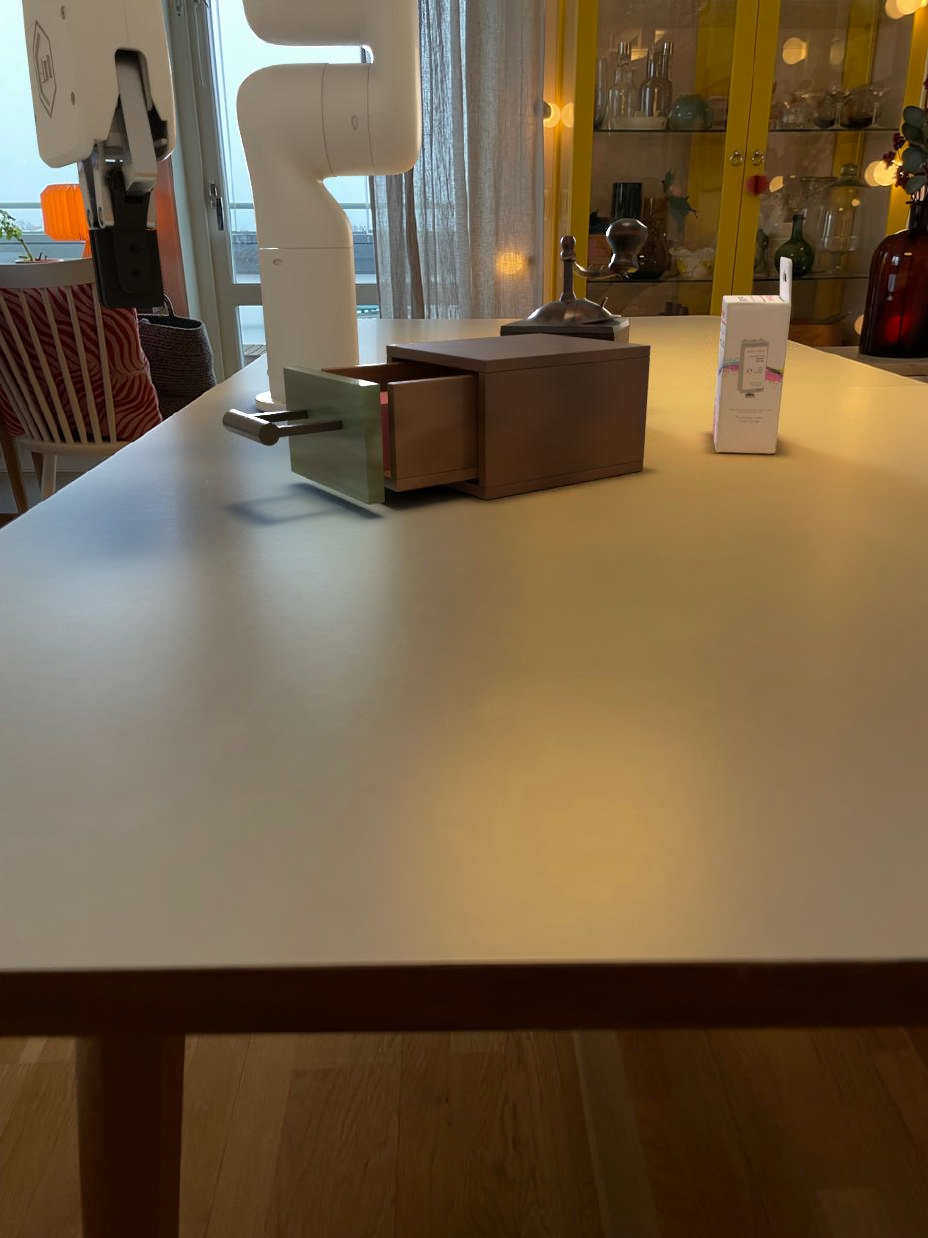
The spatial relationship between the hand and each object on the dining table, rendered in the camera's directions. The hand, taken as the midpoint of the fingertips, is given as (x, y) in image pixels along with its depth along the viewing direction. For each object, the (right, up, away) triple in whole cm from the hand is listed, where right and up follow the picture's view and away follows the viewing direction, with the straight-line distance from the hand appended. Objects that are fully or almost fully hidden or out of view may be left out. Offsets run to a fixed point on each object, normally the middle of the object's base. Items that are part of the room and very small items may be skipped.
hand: (132, 306), depth 52 cm
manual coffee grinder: (+29, +2, +38) cm, 48 cm away
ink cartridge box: (+42, -3, +27) cm, 50 cm away
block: (+13, -6, +13) cm, 20 cm away
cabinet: (+22, -6, +19) cm, 30 cm away
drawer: (+12, -8, +13) cm, 19 cm away
